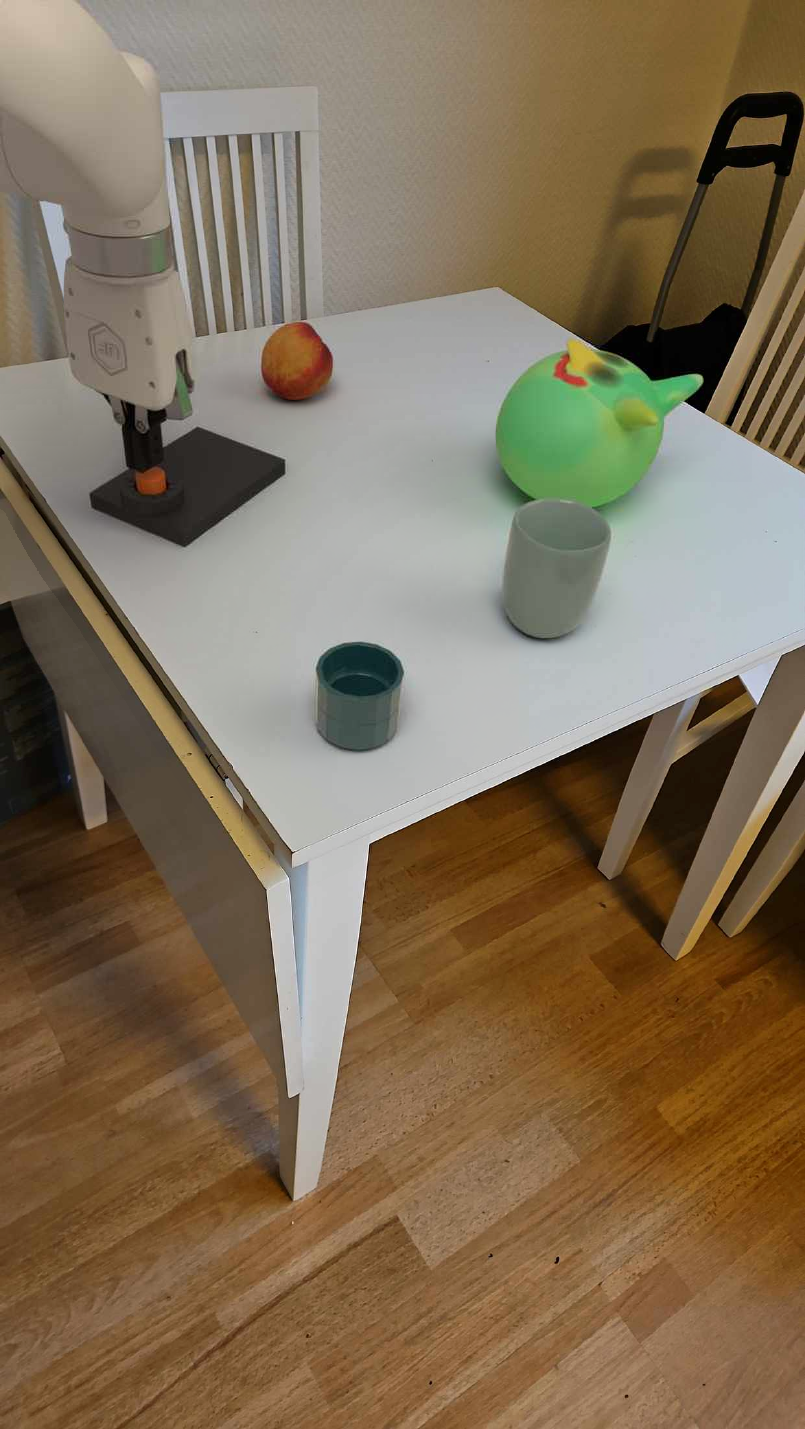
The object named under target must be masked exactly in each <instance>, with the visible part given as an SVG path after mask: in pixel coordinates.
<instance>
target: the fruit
mask: <svg viewBox="0 0 805 1429" xmlns="http://www.w3.org/2000/svg"><path fill="white" fill-rule="evenodd" d="M333 369H334V357H333V353H332V351H331V350H330V348H329V346H328V345H327V344H326V343H325V342H324V340H323V339H322V337H321V336H320V335H319V334H318V333H317V331H316V330H315V328H314V327H313V326H312V325H311V324H310V323H308V322H305V321H293V322H289V323H285V324H283V325H282V326H280V327H279V328H278V329H276V330H275V331H274V332H273V333H272V334H271V336H269V338H268V339H267V341H266V342H265V345H264V347H263V349H262V354H261V362H260V371H261V377H262V379H263V382H264V383H265V385H266V386H267V387H268V388H269V389H270V390H272V391H273V392H274V393H275V395H277V396H278V397H281V398H282V399H286V400H295V401H296V400H298V401H299V400H303V399H307V398H310V397H312V396H313V395H315V394H317V393H319V392H320V391H322V390H323V389H324V388H325V387H326V386H327V384H328V383H329V382H330V379H331V377H332V374H333Z"/></svg>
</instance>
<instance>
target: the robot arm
mask: <svg viewBox="0 0 805 1429" xmlns="http://www.w3.org/2000/svg"><path fill="white" fill-rule="evenodd" d="M166 158H167V156H166V145H165V136H164V124H163V110H162V96H161V88H160V82H159V78H158V75H157V73H156V71H155V69H154V68H153V66H152V65H151V64H150V62H148V61H147V60H146V59H145V58H143V57H140V56H138V55H137V54H133V53H130V52H126V51H122V50H119V49H118V48H117V46H116V45H115V43H114V42H113V40H112V39H111V38H110V37H109V35H108V34H107V32H106V31H105V30H104V29H103V28H102V26H101V25H100V24H99V23H98V22H97V20H95V19H94V17H92V15H91V14H90V13H89V12H88V11H87V10H86V9H85V8H84V7H83V6H82V5H81V4H80V3H78V1H76V0H0V193H5V194H8V195H13V196H16V197H21V198H25V199H28V200H29V199H30V200H33V201H38V202H46V203H51V204H54V205H58V206H63V207H64V213H65V214H64V215H65V217H64V218H63V222H62V227H63V230H64V232H65V233H66V234H67V235H68V241H69V248H70V255H71V256H69V257H67V258H66V259H65V264H64V274H63V310H64V311H63V312H64V313H63V315H64V328H65V337H66V338H65V339H66V346H67V347H66V348H67V355H68V356H67V357H68V362H69V366H70V371H71V374H72V376H73V377H74V379H75V380H76V381H77V382H79V383H80V384H82V385H83V386H85V387H87V388H90V389H92V390H94V391H95V392H97V393H98V394H100V395H101V396H103V398H104V399H105V400H106V402H107V404H108V405H109V406H110V407H111V412H112V416H113V419H114V421H115V423H116V424H117V425H119V426H121V436H122V443H123V451H124V459H125V466H126V468H127V469H129V468H130V469H132V470H133V469H136V471H137V472H140V473H144V472H146V471H148V470H149V469H151V468H153V467H154V466H156V465H158V464H159V463H161V462H162V461H163V459H164V453H163V447H164V443H163V433H162V432H163V431H162V424H164V423H166V422H167V420H168V421H169V420H171V421H180V422H181V421H183V420H185V419H187V418H189V417H191V416H192V415H193V414H194V411H193V406H192V402H191V397H190V395H191V394H192V393H193V392H194V391H195V386H196V363H195V352H194V343H193V335H192V329H191V322H190V316H189V311H188V306H187V300H186V297H185V292H184V288H183V284H182V281H181V277H180V274H179V273H180V272H178V271H177V270H175V269H174V267H175V266H174V255H173V243H172V242H173V241H172V229H171V217H170V214H171V213H170V203H169V202H170V201H169V190H168V189H169V188H168V176H167V161H166V160H167V159H166Z"/></svg>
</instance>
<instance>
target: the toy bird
mask: <svg viewBox="0 0 805 1429" xmlns="http://www.w3.org/2000/svg"><path fill="white" fill-rule="evenodd" d="M566 347H567V349H566V350H562V351H558V352H555V353H552V354H549V355H547V356H545V357H543V358H541V359H540V360H538V361H537V362H535V363H534V364H532V365H531V366H530V367H528V368H527V369H525V371H524V372H523V373H522V374H521V375H520V376H519V377H518V378H517V379H516V381H514V383H513V385H512V386H511V388H510V389H509V390H508V392H507V393H506V396H505V398H504V399H503V402H502V403H501V406H500V409H499V411H498V415H497V420H496V423H495V424H496V425H495V447H496V448H495V449H496V452H497V456H498V460H499V462H500V465H501V466H502V468H503V470H504V472H505V473H506V475H507V476H508V477H509V479H510V480H511V481H512V482H513V483H514V484H515V485H516V487H517V488H519V489H520V491H522V492H524V493H525V494H526V495H527V496H529V497H531V498H533V499H534V500H538V499H545V498H564V499H569V500H574V501H577V502H580V503H583V504H585V505H587V506H589V507H591V508H596V507H599V506H603V505H605V504H609V503H610V502H613V501H615V500H616V499H618V498H620V497H622V496H623V495H624V494H626V493H628V491H630V490H631V489H632V488H633V487H634V486H636V484H637V483H639V481H640V480H642V478H643V477H644V476H645V474H646V473H647V472H648V470H649V469H650V467H651V466H652V464H653V462H654V460H655V458H656V456H657V454H658V453H659V449H660V447H661V443H662V440H663V436H664V430H665V418H666V417H667V415H669V414H670V413H671V412H672V411H673V410H675V409H676V408H677V407H679V406H680V405H681V404H682V403H684V402H685V401H686V400H687V399H688V398H690V397H691V396H692V395H694V394H695V393H696V392H697V391H698V390H699V389H700V388H701V387H702V385H703V383H704V377H703V375H701V374H699V373H692V374H685V375H679V376H674V377H670V378H665V379H660V380H659V379H658V380H651V379H650V378H649V376H648V375H647V374H646V373H645V372H644V371H643V370H642V369H641V368H640V367H639V366H637V365H636V364H634V363H633V362H631V361H630V360H628V359H627V358H624V357H622V356H620V355H618V354H615V353H613V352H609V351H604V350H600V349H594V348H593V349H592V348H590V347H589V346H587V345H586V344H584V343H583V342H581V341H579V340H577V339H574V338H570V339H568V340H567V342H566Z"/></svg>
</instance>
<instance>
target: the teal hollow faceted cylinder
mask: <svg viewBox="0 0 805 1429" xmlns="http://www.w3.org/2000/svg"><path fill="white" fill-rule="evenodd" d="M404 677H405V670H404V668H403V664H402V661H401V660H400V659H399V658H398V657H397V656H396V655H395V653H393V652H392V650H390V649H387V647H383V646H381V645H379V644H377V643H372V642H365V641H351V642H343V643H340V644H338V645H335V646H332V647H330V648H328V649H327V650H326V651H325V652H324V653H323V654H321V655H320V656H319V658H318V661H317V663H316V666H315V686H314V689H315V690H314V691H315V692H314V720H315V725H316V729H317V731H318V732H319V733H320V734H321V735H322V736H323V738H324V739H325V740H326V741H328V742H330V743H332V744H333V745H336V746H338V747H340V748H344V749H346V750H353V751H364V750H369V749H374V748H376V747H378V746H381V745H383V744H385V743H387V742H388V741H389V740H390V739H391V738H392V737H393V735H395V734H396V733H397V730H398V727H399V722H400V714H401V705H402V697H403V687H404V679H405V678H404Z"/></svg>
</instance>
